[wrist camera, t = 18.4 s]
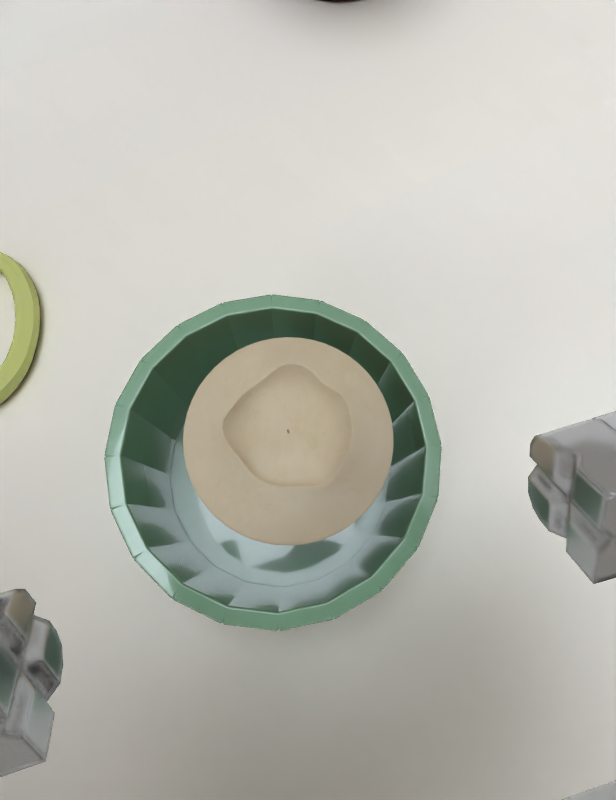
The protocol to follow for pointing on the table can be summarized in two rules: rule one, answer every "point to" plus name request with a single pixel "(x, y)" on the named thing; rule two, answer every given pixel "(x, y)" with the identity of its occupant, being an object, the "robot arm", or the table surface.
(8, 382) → the key
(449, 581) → the table surface
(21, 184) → the table surface
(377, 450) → the candle
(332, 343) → the cup
